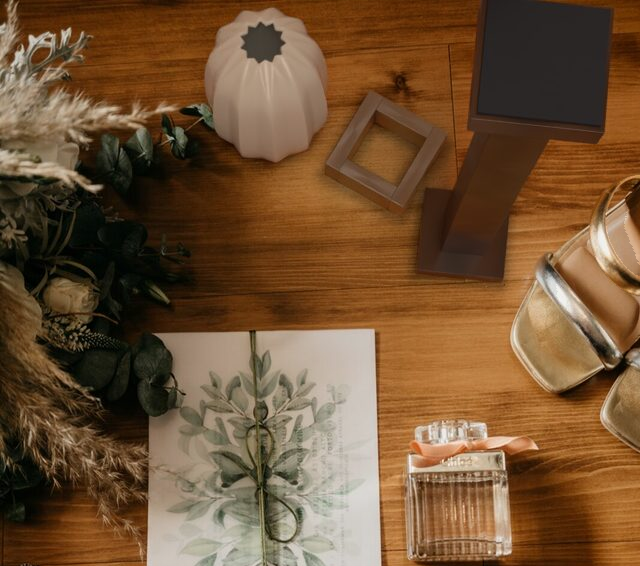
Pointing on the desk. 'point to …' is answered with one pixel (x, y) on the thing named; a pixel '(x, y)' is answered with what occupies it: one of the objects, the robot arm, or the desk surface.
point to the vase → (266, 85)
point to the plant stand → (489, 182)
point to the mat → (544, 62)
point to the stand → (400, 124)
